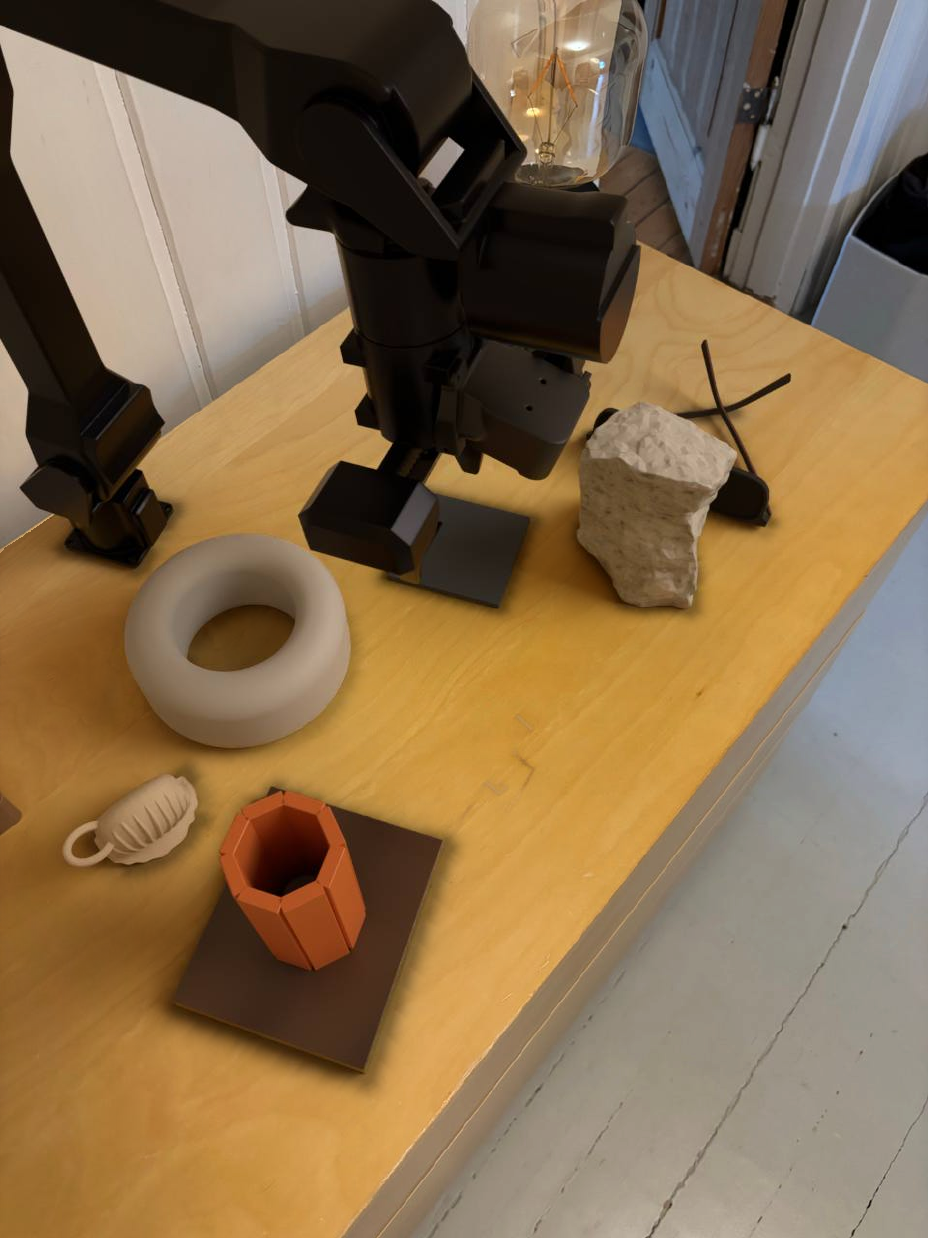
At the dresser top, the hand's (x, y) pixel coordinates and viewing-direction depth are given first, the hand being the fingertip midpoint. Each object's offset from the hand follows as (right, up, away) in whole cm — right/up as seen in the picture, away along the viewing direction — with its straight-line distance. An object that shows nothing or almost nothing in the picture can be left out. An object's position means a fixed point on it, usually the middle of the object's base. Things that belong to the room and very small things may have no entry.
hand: (442, 523), depth 57 cm
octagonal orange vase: (-8, -24, 0) cm, 25 cm away
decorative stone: (+15, -1, +17) cm, 22 cm away
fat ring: (-14, -9, +11) cm, 20 cm away
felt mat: (+1, 0, +17) cm, 17 cm away
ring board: (-8, -25, +1) cm, 26 cm away
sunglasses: (+22, +9, +23) cm, 33 cm away
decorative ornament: (-20, -20, +4) cm, 28 cm away
